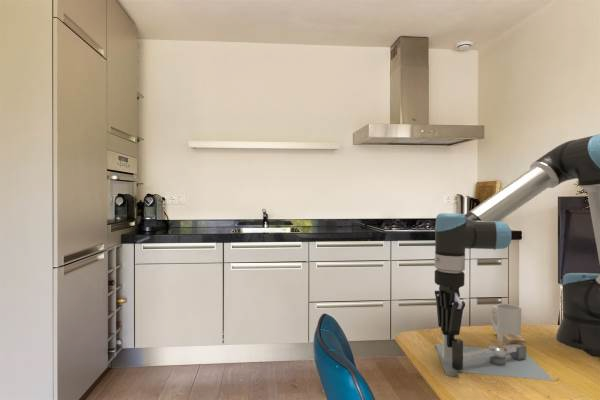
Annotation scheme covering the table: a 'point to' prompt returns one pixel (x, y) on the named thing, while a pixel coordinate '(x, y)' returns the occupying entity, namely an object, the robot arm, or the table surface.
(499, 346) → the lever
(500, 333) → the mug
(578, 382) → the table surface
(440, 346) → the base
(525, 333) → the table surface
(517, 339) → the block
